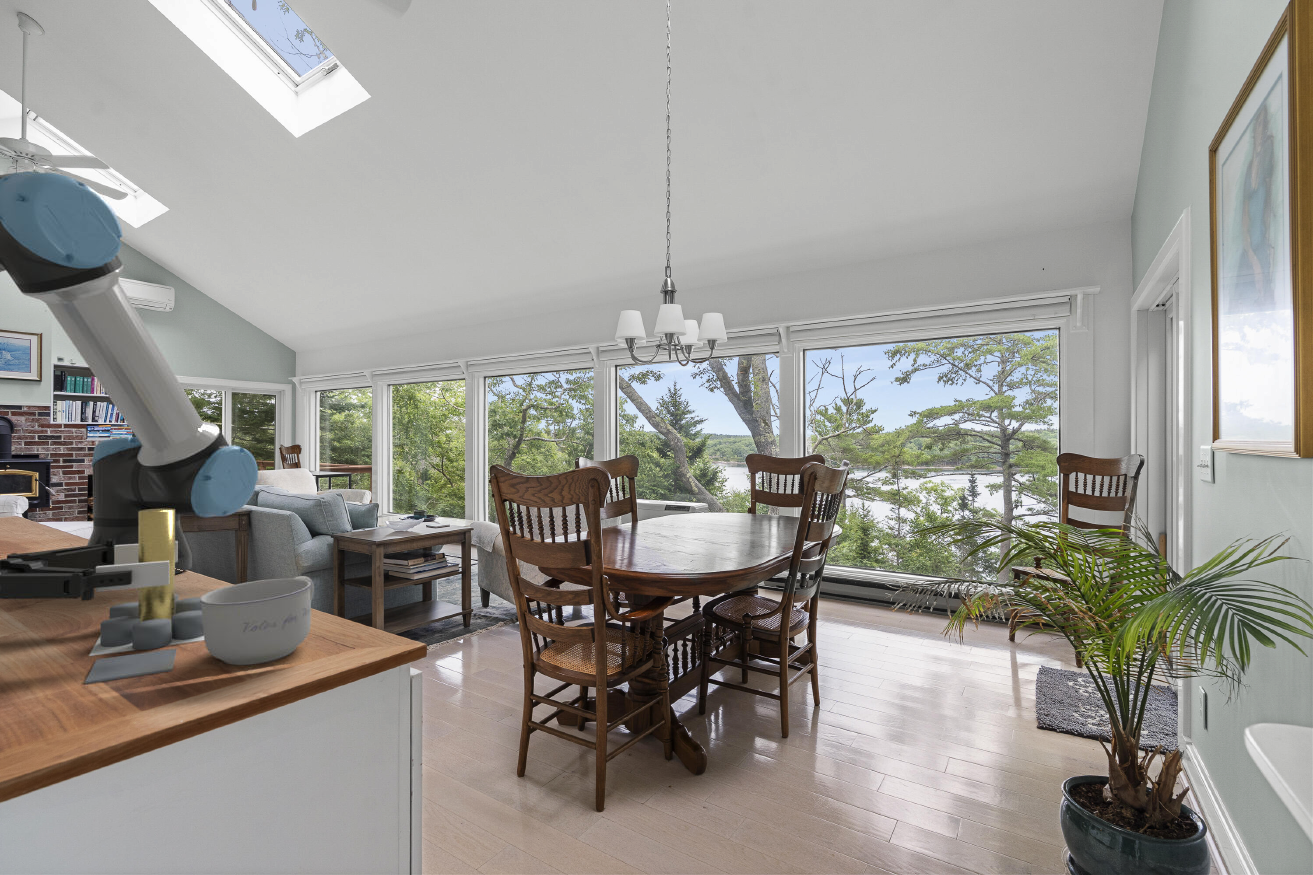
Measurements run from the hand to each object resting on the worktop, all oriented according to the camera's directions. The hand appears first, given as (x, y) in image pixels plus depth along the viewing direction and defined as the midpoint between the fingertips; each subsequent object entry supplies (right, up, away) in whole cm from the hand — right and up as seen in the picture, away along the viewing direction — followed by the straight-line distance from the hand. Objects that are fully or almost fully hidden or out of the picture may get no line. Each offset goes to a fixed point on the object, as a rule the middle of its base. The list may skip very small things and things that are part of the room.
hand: (174, 561), depth 82 cm
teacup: (+16, -10, -6) cm, 19 cm away
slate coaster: (+5, -9, -12) cm, 16 cm away
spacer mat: (-2, -9, 0) cm, 9 cm away
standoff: (-2, -8, -1) cm, 9 cm away
